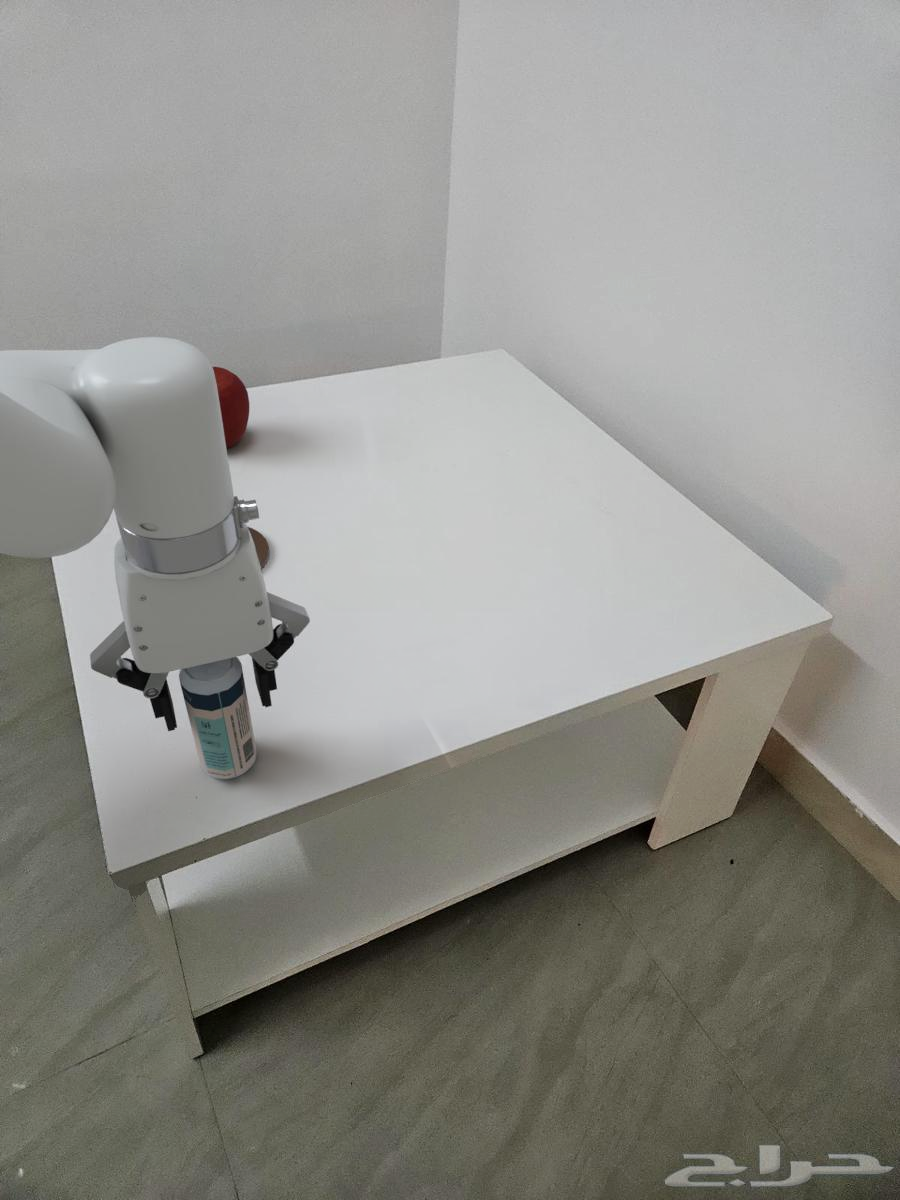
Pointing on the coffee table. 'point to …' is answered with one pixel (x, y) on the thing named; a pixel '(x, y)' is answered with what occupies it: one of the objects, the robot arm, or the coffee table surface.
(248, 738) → the beer can
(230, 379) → the apple
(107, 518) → the robot arm
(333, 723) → the coffee table surface
